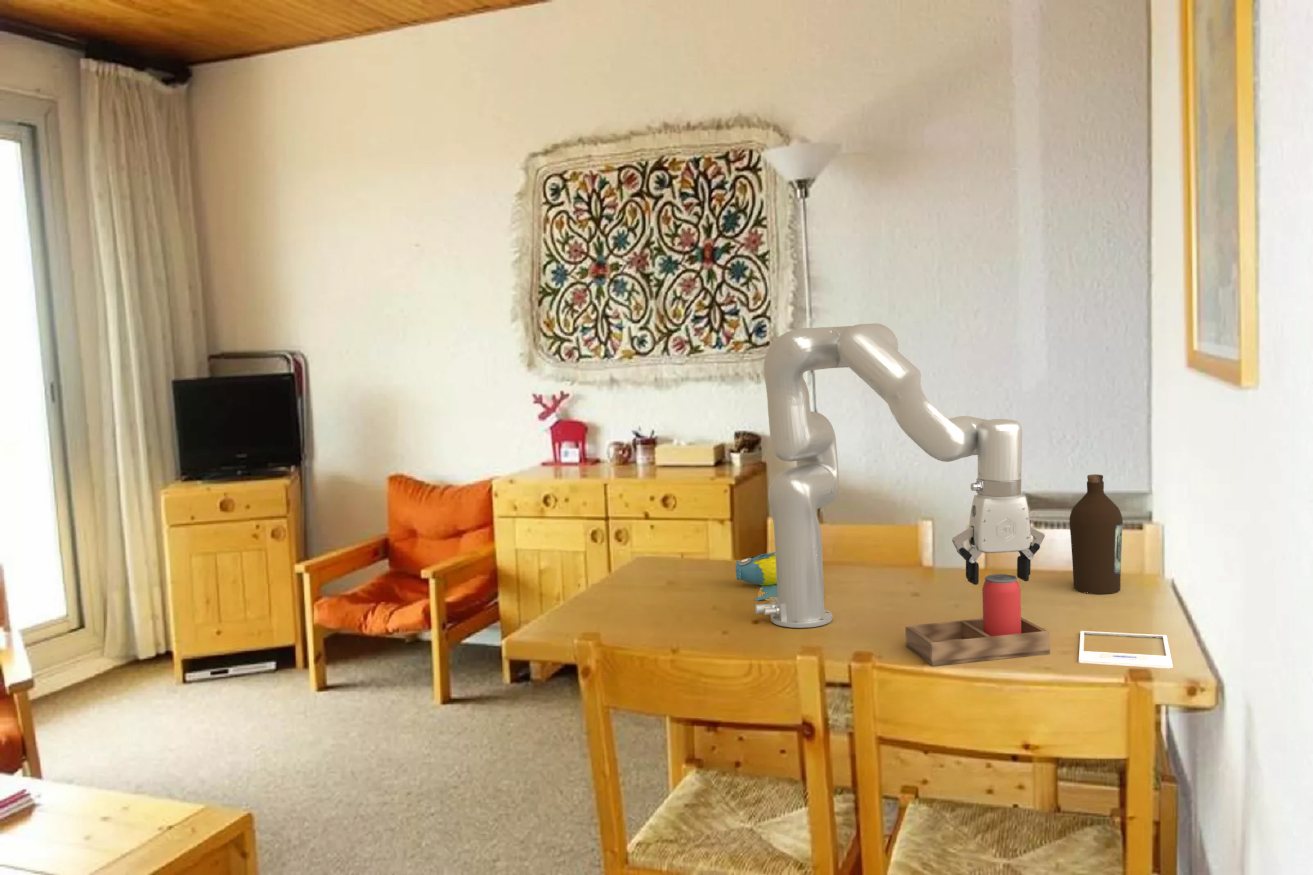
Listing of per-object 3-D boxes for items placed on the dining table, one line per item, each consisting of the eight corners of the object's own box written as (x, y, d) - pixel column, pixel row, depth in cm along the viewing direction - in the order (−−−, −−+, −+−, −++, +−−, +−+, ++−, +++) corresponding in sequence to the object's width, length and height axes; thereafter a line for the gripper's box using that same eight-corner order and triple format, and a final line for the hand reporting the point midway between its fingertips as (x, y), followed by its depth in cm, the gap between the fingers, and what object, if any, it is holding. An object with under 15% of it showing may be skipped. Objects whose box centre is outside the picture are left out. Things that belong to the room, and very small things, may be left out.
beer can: (1013, 635, 198) (1012, 572, 197) (1027, 646, 191) (1025, 580, 190) (978, 638, 198) (977, 574, 197) (990, 648, 191) (989, 582, 190)
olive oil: (1069, 594, 229) (1067, 478, 226) (1071, 582, 239) (1069, 471, 236) (1123, 596, 225) (1122, 479, 222) (1123, 584, 234) (1122, 471, 232)
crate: (932, 666, 186) (931, 644, 186) (906, 647, 198) (905, 626, 198) (1049, 654, 189) (1049, 632, 189) (1017, 635, 201) (1016, 615, 201)
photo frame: (1078, 658, 184) (1080, 629, 200) (1078, 665, 184) (1080, 635, 201) (1172, 664, 178) (1166, 634, 195) (1172, 671, 178) (1166, 640, 195)
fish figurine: (792, 565, 234) (724, 566, 238) (794, 603, 235) (727, 604, 239) (806, 539, 261) (745, 541, 265) (808, 574, 262) (747, 575, 266)
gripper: (962, 494, 187) (961, 589, 189) (1054, 489, 189) (1053, 583, 191) (944, 487, 194) (944, 579, 196) (1033, 482, 197) (1032, 573, 199)
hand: (997, 581), depth 194 cm, fingers open, 9 cm apart
